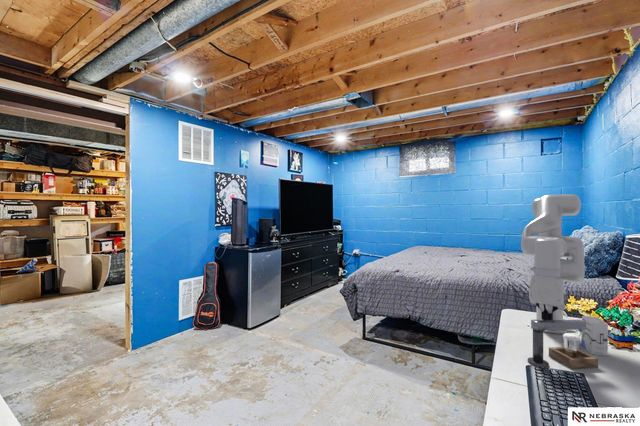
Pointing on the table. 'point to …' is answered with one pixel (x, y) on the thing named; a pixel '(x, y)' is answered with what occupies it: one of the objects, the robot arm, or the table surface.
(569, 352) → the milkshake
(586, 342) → the ink box
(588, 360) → the square wooden tray
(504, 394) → the table surface
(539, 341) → the post
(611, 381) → the table surface
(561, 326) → the lever
